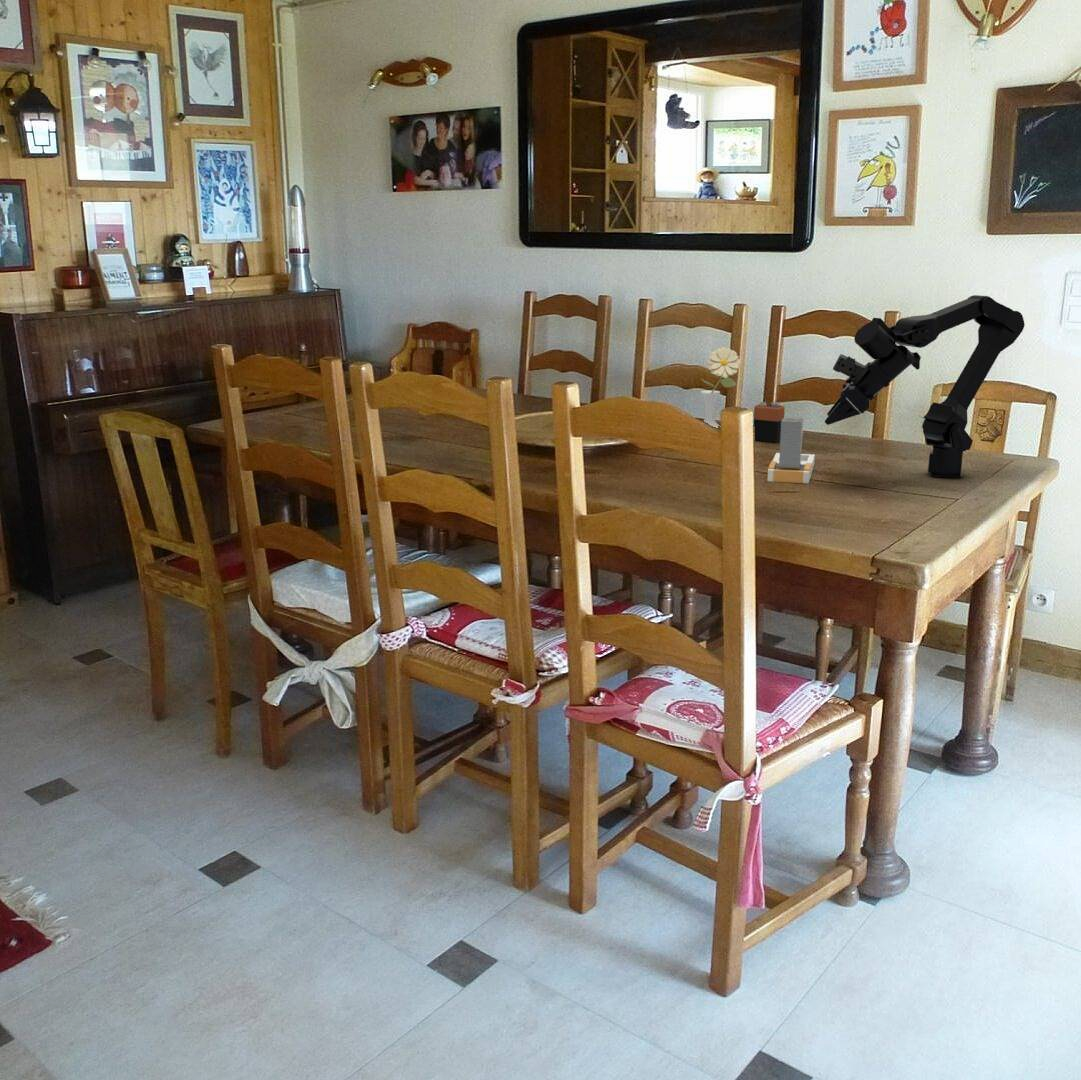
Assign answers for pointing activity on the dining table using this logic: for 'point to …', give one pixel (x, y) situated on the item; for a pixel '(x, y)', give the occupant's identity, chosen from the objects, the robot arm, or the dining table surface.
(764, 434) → the battery
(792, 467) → the metal peg
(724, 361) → the flower in vase
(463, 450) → the dining table surface
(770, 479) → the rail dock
